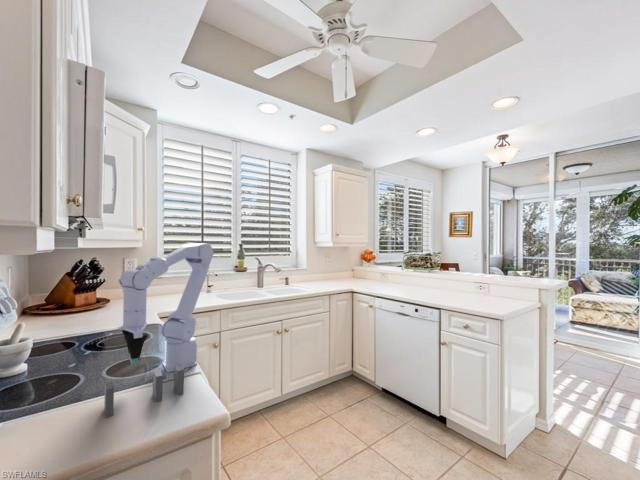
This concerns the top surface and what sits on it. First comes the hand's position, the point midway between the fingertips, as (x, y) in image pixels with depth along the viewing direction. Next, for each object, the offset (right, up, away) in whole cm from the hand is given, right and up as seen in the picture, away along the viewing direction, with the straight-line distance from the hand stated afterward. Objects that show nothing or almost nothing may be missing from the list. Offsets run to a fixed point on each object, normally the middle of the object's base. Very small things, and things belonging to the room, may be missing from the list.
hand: (134, 355), depth 85 cm
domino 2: (0, -2, 0) cm, 2 cm away
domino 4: (+14, -10, -1) cm, 17 cm away
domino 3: (+10, -10, -5) cm, 15 cm away
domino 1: (+1, -10, -12) cm, 15 cm away
